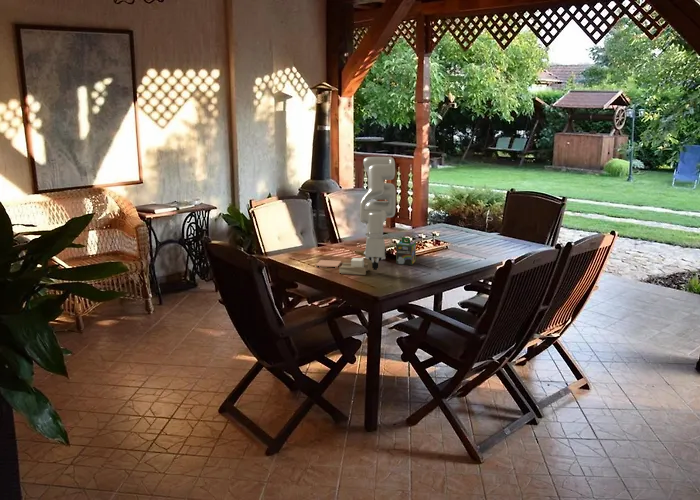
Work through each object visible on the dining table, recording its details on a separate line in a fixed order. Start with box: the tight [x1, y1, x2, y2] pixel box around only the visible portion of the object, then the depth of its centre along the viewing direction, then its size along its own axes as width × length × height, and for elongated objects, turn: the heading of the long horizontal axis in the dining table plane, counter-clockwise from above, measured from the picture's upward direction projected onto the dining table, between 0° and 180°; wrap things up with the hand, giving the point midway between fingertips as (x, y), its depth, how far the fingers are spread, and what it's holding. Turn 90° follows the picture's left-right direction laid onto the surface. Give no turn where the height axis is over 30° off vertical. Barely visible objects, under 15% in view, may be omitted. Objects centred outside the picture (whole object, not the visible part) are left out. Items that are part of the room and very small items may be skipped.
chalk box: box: [395, 236, 417, 266], centre depth 365 cm, size 9×9×15 cm
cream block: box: [350, 257, 365, 268], centre depth 346 cm, size 6×6×7 cm
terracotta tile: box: [315, 259, 342, 269], centre depth 362 cm, size 12×12×1 cm
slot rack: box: [338, 262, 369, 276], centre depth 347 cm, size 10×14×4 cm
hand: (375, 269), depth 345 cm, fingers closed
